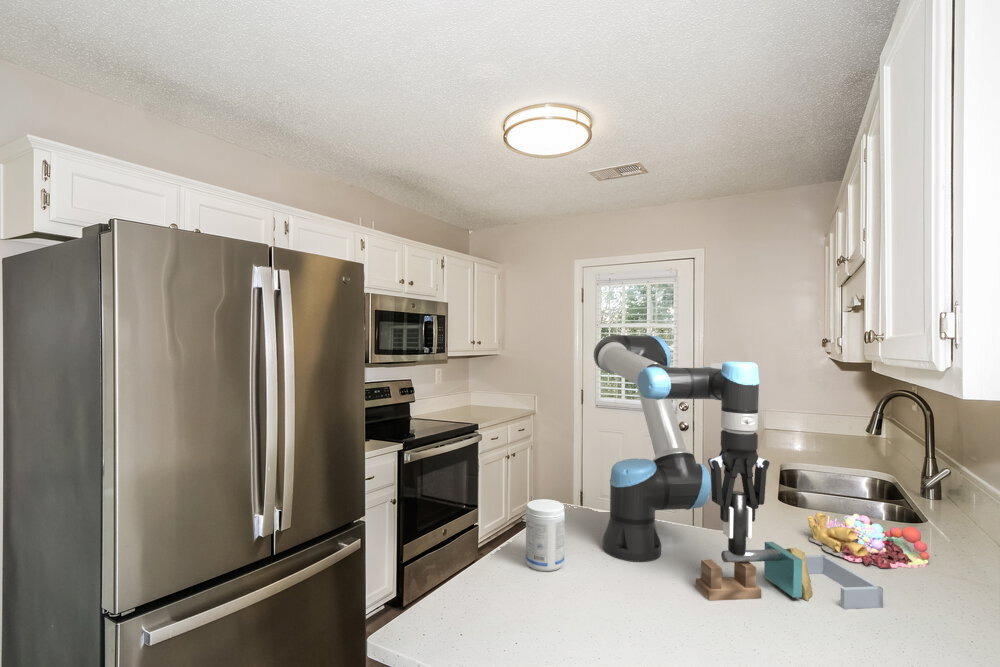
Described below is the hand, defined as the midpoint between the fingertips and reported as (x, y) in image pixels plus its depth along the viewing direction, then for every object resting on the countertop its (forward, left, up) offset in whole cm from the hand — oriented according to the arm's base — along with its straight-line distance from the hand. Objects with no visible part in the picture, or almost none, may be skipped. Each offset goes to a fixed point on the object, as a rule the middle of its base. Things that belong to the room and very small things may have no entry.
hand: (737, 535), depth 114 cm
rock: (+16, 0, -13) cm, 21 cm away
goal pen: (+23, 0, -13) cm, 27 cm away
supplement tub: (-40, +17, -13) cm, 45 cm away
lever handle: (+5, 0, -12) cm, 12 cm away
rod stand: (-2, 0, -13) cm, 13 cm away
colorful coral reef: (+49, +20, -13) cm, 55 cm away
